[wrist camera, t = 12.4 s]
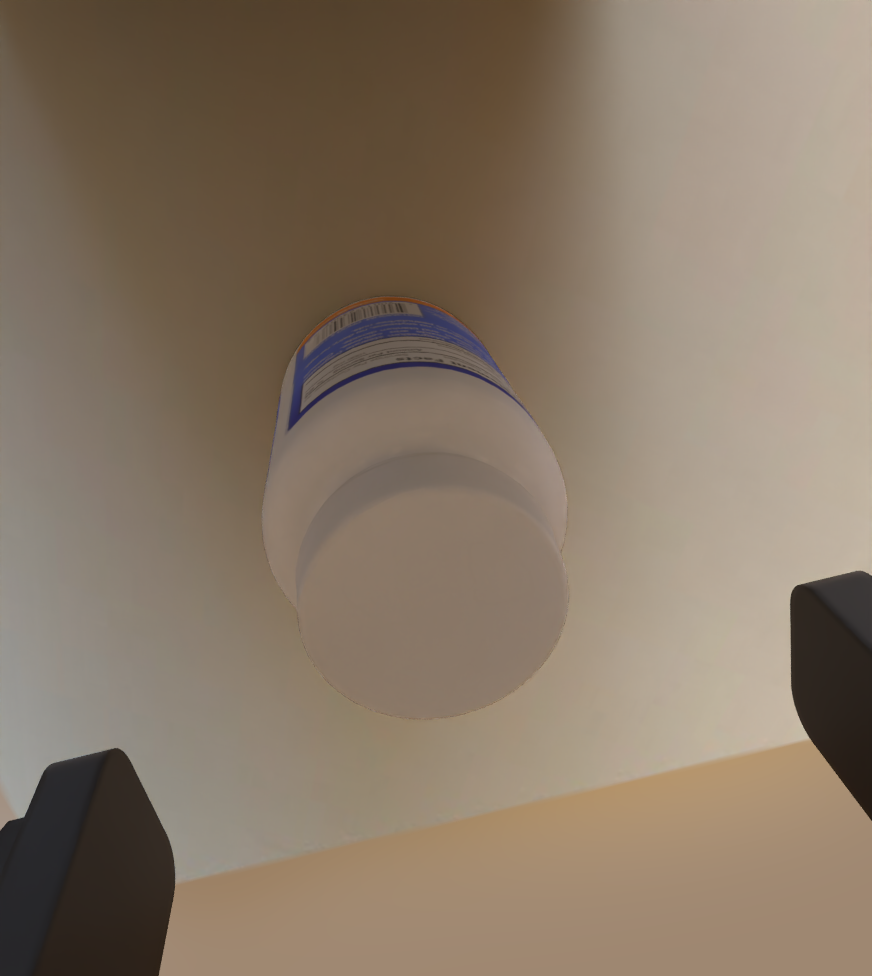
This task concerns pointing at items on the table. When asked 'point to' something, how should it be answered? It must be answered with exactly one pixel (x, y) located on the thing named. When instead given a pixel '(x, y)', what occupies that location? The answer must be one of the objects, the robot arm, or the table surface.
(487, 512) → the pill bottle
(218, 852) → the table surface
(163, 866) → the robot arm
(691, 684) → the table surface
